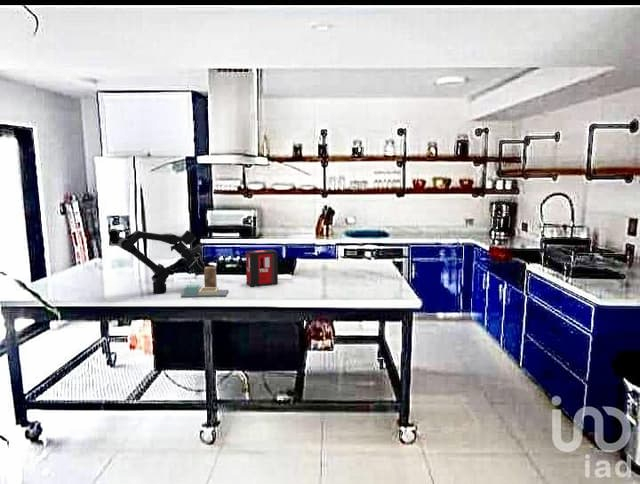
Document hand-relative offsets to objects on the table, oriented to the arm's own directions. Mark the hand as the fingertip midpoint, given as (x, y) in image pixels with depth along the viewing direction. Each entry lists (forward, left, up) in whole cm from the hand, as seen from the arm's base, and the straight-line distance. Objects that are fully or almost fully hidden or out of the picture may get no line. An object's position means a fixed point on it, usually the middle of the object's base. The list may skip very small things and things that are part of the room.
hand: (204, 269), depth 293 cm
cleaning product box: (+33, +5, -12) cm, 36 cm away
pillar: (+3, -1, -11) cm, 12 cm away
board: (0, -13, -11) cm, 17 cm away
